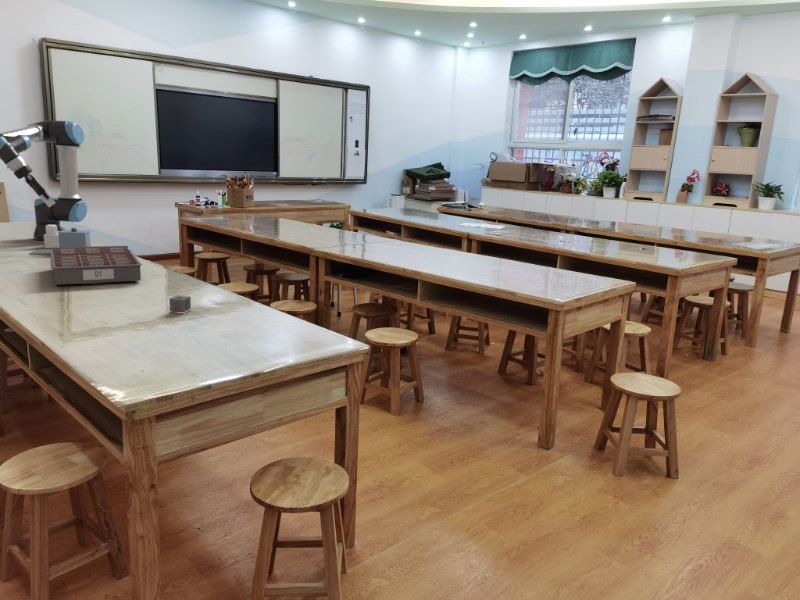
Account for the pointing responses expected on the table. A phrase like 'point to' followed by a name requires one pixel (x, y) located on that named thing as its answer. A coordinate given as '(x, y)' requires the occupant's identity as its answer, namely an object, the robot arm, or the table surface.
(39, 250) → the mat
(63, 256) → the organizer tray
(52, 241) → the medicine bottle
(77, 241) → the cover
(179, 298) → the dice cube
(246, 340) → the table surface
